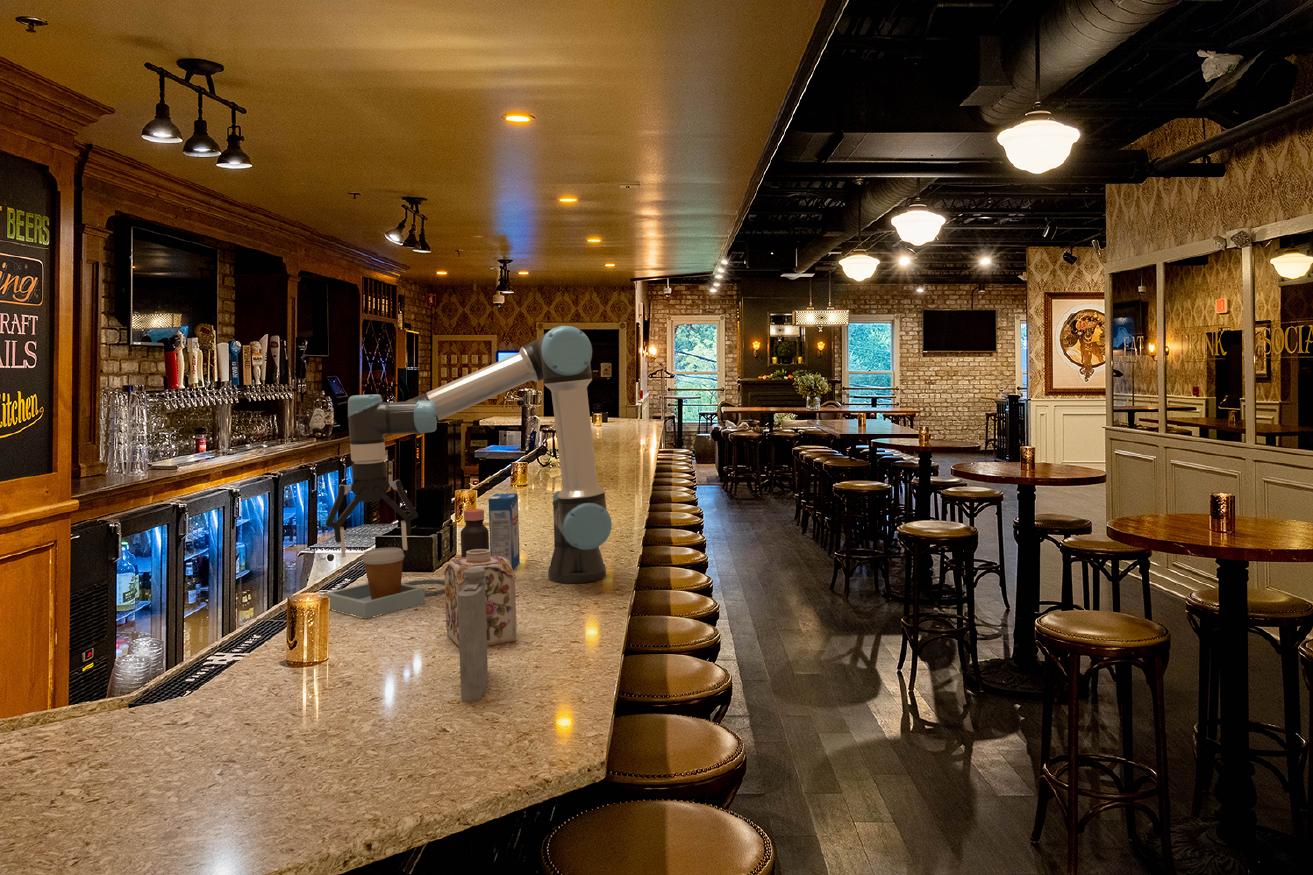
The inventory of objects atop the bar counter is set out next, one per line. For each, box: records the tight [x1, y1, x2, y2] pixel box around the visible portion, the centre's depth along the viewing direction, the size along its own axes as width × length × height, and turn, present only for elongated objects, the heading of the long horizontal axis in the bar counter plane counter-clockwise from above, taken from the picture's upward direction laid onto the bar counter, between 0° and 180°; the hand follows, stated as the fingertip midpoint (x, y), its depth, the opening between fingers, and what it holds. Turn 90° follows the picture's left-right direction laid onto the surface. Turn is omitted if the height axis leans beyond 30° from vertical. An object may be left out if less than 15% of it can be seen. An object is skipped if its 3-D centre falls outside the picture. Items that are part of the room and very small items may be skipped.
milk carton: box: [487, 492, 521, 572], centre depth 234 cm, size 10×6×20 cm, turn 179°
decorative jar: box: [443, 549, 517, 648], centre depth 170 cm, size 12×12×18 cm
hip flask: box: [457, 568, 489, 703], centre depth 144 cm, size 16×4×20 cm, turn 8°
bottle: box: [460, 508, 490, 558], centre depth 209 cm, size 7×7×20 cm
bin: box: [323, 582, 426, 620], centre depth 197 cm, size 16×16×4 cm
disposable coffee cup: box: [361, 547, 405, 600], centre depth 197 cm, size 10×10×12 cm
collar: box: [402, 578, 445, 597], centre depth 211 cm, size 15×15×1 cm
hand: (374, 552), depth 196 cm, fingers open, 13 cm apart
